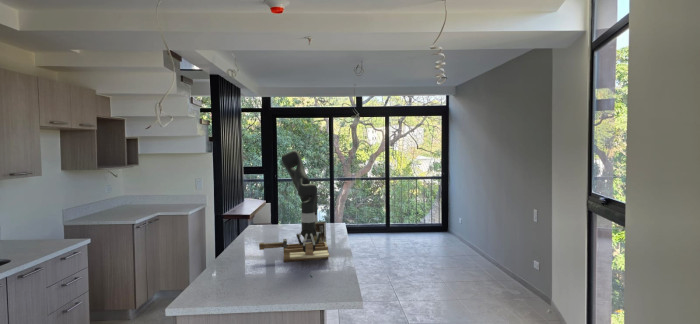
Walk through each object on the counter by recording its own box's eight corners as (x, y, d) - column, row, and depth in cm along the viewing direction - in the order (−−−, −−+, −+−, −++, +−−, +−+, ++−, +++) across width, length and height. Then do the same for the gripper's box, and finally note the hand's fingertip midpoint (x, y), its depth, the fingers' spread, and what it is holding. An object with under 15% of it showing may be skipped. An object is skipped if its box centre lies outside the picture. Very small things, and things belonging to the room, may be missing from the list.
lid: (289, 254, 215) (289, 242, 215) (327, 251, 219) (327, 239, 218) (290, 259, 206) (289, 246, 206) (329, 256, 210) (328, 243, 209)
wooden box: (283, 256, 229) (283, 237, 228) (325, 253, 233) (325, 235, 233) (283, 262, 217) (283, 243, 217) (328, 258, 221) (327, 239, 221)
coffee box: (326, 246, 248) (326, 221, 247) (325, 249, 242) (324, 223, 241) (312, 246, 249) (312, 221, 248) (310, 249, 243) (310, 223, 242)
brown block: (259, 248, 222) (259, 242, 222) (284, 246, 224) (284, 241, 224) (259, 249, 219) (259, 244, 219) (284, 248, 221) (284, 242, 221)
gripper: (295, 222, 206) (296, 254, 207) (322, 221, 209) (322, 252, 210) (294, 220, 214) (295, 250, 215) (320, 218, 216) (321, 249, 217)
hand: (309, 251), depth 212 cm, fingers closed on lid, 4 cm apart
